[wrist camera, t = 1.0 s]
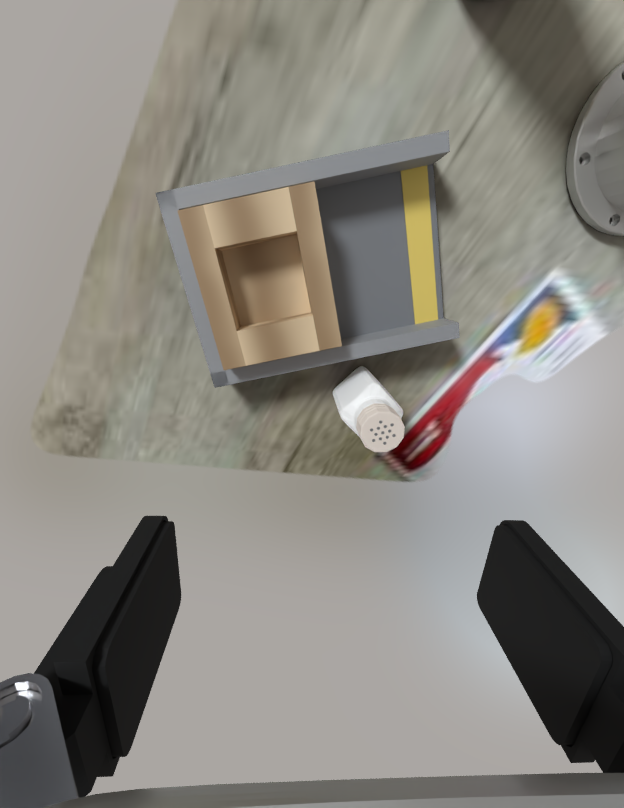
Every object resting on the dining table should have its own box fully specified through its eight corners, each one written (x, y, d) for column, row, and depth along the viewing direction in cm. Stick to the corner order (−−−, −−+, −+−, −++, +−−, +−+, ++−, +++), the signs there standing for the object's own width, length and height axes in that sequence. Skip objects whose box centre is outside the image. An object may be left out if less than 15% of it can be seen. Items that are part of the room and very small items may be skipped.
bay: (427, 149, 28) (448, 130, 24) (439, 330, 32) (459, 337, 29) (173, 203, 28) (155, 193, 24) (223, 374, 33) (214, 387, 29)
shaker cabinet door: (310, 195, 27) (314, 181, 23) (335, 336, 31) (342, 346, 27) (194, 220, 27) (177, 210, 23) (232, 357, 31) (223, 370, 27)
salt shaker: (360, 361, 33) (386, 394, 24) (388, 391, 34) (422, 432, 25) (328, 391, 34) (342, 433, 25) (356, 418, 35) (379, 468, 26)
